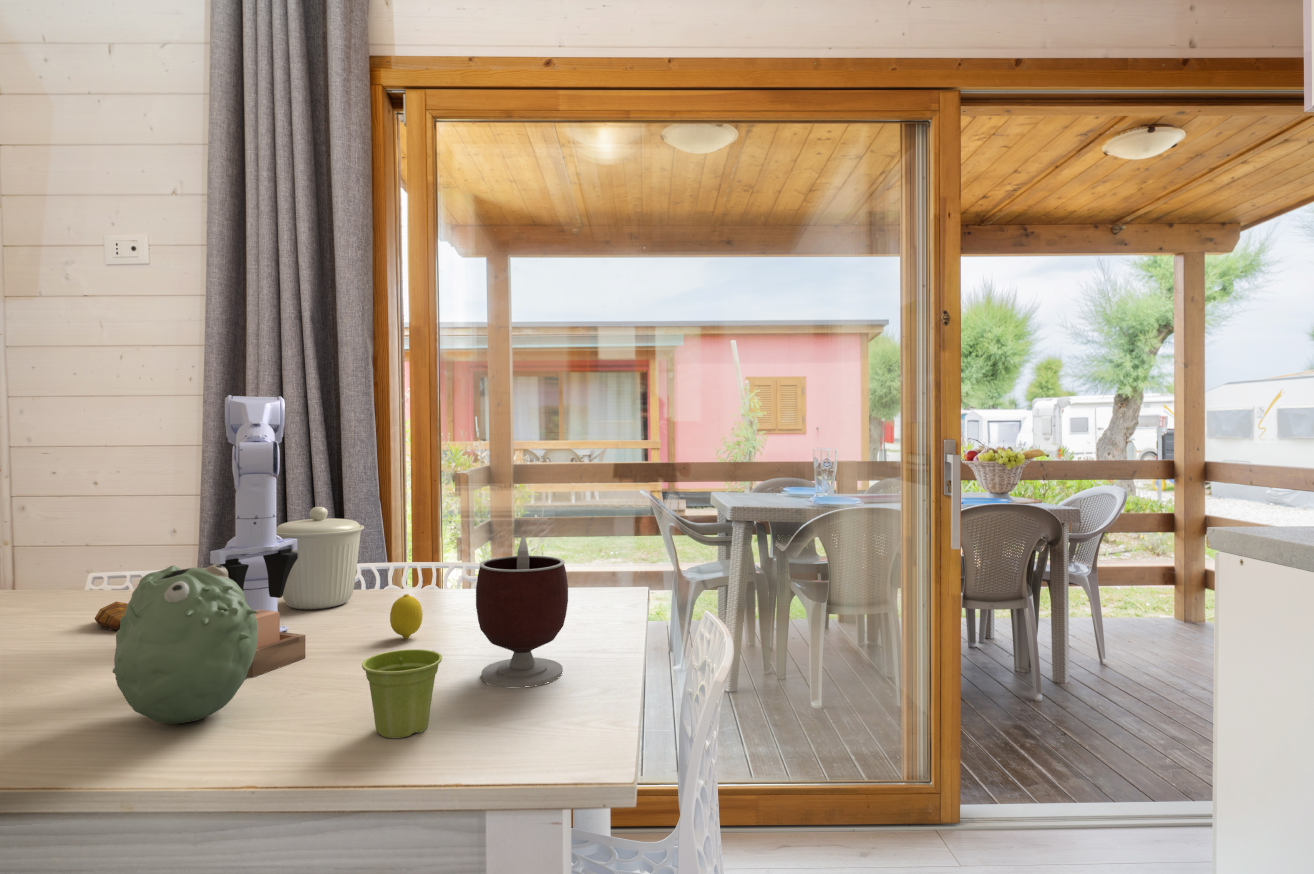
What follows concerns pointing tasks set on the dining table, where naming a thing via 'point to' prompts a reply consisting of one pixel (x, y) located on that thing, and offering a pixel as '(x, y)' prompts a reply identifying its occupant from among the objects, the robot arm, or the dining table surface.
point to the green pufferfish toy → (184, 644)
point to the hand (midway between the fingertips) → (256, 602)
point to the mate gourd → (521, 614)
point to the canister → (321, 560)
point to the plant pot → (401, 690)
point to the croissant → (111, 616)
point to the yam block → (268, 627)
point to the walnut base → (278, 654)
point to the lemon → (406, 616)
